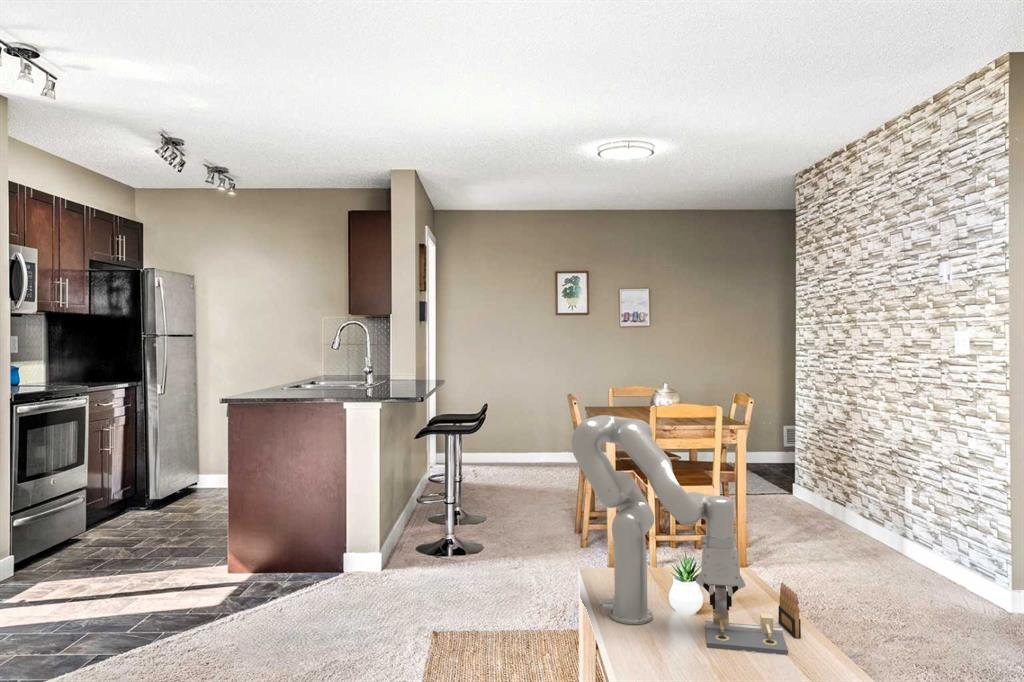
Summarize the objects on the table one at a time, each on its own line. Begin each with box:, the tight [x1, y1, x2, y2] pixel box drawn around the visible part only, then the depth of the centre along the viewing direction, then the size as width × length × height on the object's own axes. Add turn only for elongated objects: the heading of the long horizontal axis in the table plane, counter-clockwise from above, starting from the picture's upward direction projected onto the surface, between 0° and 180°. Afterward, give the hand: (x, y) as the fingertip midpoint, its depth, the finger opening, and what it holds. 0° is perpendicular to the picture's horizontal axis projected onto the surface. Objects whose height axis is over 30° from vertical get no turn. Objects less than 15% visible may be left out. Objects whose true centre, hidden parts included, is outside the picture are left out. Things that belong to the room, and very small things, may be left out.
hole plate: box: [705, 612, 789, 655], centre depth 186 cm, size 20×15×6 cm
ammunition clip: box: [777, 581, 802, 639], centre depth 192 cm, size 11×2×12 cm, turn 1°
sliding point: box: [712, 585, 730, 636], centre depth 188 cm, size 4×9×10 cm, turn 166°
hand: (720, 607), depth 191 cm, fingers closed on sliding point, 3 cm apart
